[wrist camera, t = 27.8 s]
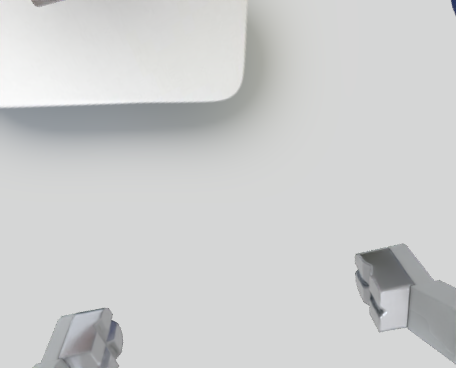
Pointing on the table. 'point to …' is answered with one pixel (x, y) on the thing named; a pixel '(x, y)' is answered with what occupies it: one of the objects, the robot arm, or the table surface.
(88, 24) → the table surface
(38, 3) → the drawer
